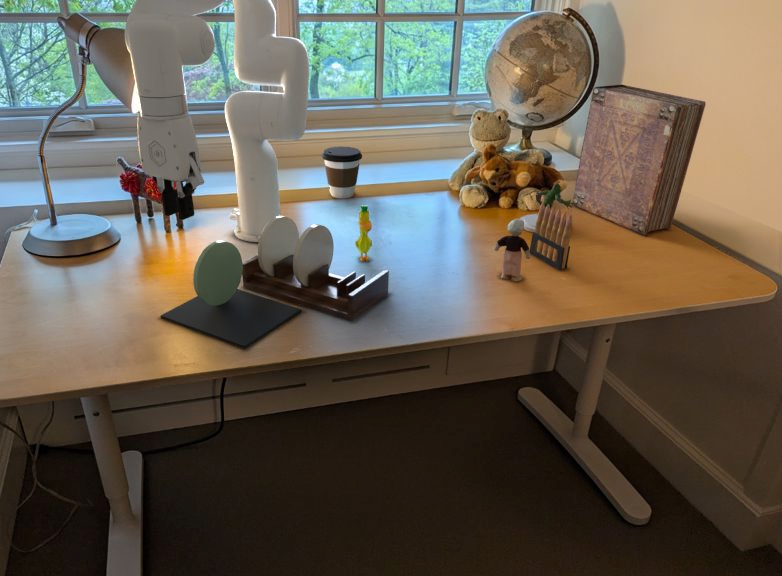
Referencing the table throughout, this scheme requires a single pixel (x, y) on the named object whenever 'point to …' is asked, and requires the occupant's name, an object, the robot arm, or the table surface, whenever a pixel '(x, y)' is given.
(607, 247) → the table surface
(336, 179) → the coffee cup
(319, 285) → the plate rack
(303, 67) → the robot arm
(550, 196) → the monster figurine
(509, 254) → the grandmother figurine
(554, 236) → the ammunition clip
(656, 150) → the book
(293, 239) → the cream plate
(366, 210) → the toy figure
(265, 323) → the mat
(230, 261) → the green plate
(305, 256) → the cream plate
